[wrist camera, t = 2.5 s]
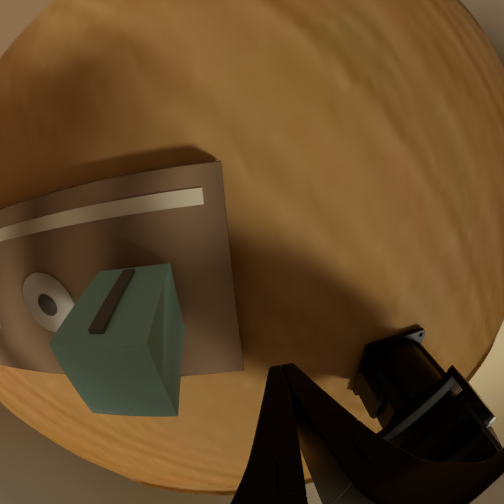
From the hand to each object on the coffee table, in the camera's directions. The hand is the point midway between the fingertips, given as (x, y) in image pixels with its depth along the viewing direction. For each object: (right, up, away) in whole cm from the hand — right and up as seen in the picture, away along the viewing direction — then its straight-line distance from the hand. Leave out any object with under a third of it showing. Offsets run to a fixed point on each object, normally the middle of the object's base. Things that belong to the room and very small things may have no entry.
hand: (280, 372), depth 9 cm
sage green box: (-7, +2, +5) cm, 9 cm away
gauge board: (-13, +1, +6) cm, 15 cm away
